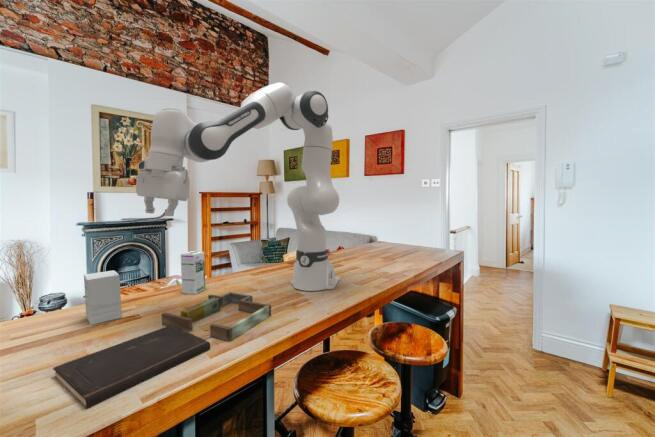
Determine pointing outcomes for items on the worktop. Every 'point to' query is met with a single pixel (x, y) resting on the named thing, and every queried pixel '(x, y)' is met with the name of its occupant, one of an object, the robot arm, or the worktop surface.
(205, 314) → the medication box
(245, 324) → the trap corral
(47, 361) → the worktop surface
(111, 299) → the supplement box
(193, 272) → the syrup box
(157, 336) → the hardcover book
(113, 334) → the worktop surface
